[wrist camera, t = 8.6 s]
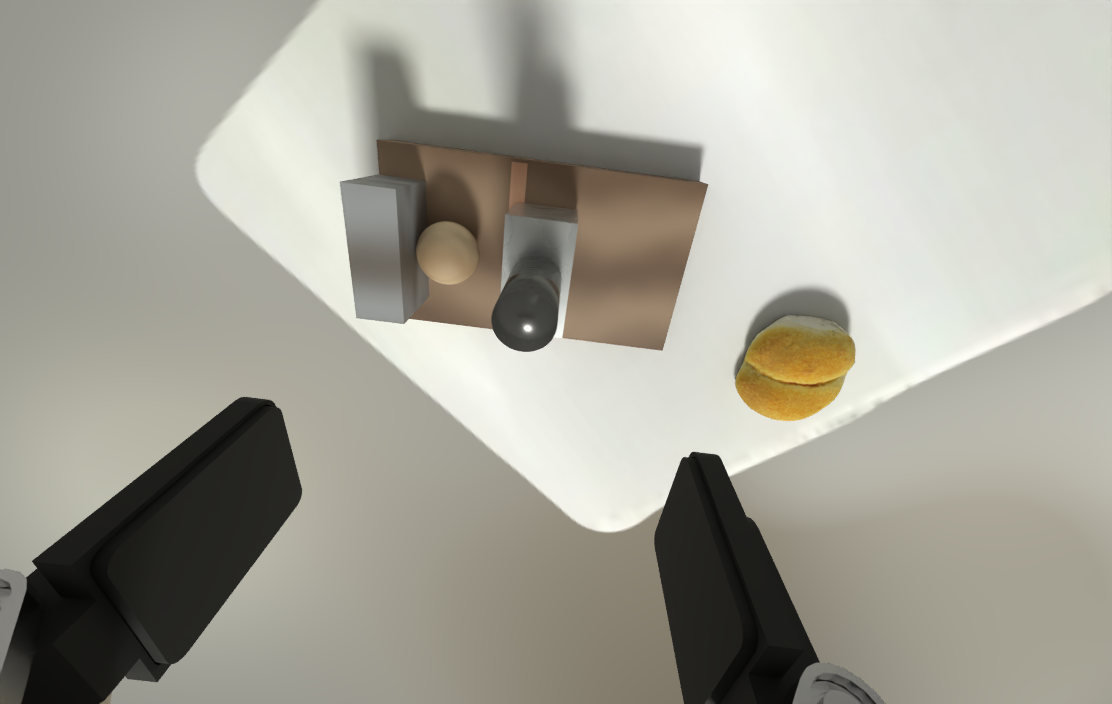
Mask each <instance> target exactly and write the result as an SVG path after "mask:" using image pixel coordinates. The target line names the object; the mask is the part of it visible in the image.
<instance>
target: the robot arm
mask: <svg viewBox="0 0 1112 704" xmlns="http://www.w3.org/2000/svg"><path fill="white" fill-rule="evenodd" d="M301 495H302V488H301V484H300V480H299V476H298V472H297V469H296V465H295V461H294V457H293V453H292V449H291V446H290V442H289V438H288V434H287V430H286V426H285V423H284V419H283V415H282V412H281V410H280V409H279V408H277V407H276V406H275V403H274V402H273V401H270V400H265V399H258V398H250V397H241V398H239V399H237V400H235V401H234V402H233V403H232V404H230V405H229V406H228V407H227V408H225V409H224V410H223V411H222V412H220V413H219V414H218V415H216V416H215V417H214V418H213V419H211V420H210V421H209V422H208V423H206V424H205V425H204V426H203V427H201V428H200V429H199V430H198V431H196V432H195V433H194V434H192V435H191V436H190V437H189V438H187V439H186V440H185V441H183V442H182V443H181V444H180V445H179V446H177V447H176V448H175V449H173V450H172V451H171V452H170V453H168V454H167V455H166V456H164V457H163V458H162V459H161V460H159V461H158V462H157V463H156V464H155V465H153V466H152V467H151V468H149V469H148V470H147V471H145V472H144V473H143V474H142V475H140V476H139V477H138V478H137V479H135V480H134V481H133V482H132V483H130V484H129V485H128V486H127V487H125V488H124V489H123V490H121V491H120V492H119V493H118V494H116V495H115V496H114V497H112V498H111V499H110V500H109V501H107V502H106V503H105V504H104V505H102V506H101V507H100V508H99V509H97V510H96V511H95V512H94V513H92V514H91V515H90V516H88V517H87V518H86V519H85V520H83V521H82V522H81V523H80V524H78V525H77V526H76V527H75V528H74V529H72V530H71V531H69V532H68V533H67V534H66V535H65V536H63V537H62V538H61V539H59V540H58V541H57V542H55V543H54V544H53V545H52V546H51V547H49V548H48V549H47V550H45V551H44V552H43V553H42V554H40V555H39V556H38V557H36V558H35V559H34V560H33V561H32V562H33V563H34V565H35V566H36V567H37V569H36V570H35V571H34V572H32V573H31V574H30V575H29V576H28V577H24V575H23V574H21V572H18V571H14V570H9V569H4V570H0V704H110V702H111V694H112V691H113V690H114V689H115V687H116V686H117V685H118V684H119V682H120V681H121V680H122V679H123V678H124V676H126V678H127V679H133V680H143V681H151V682H158V681H159V679H160V678H161V677H162V676H163V674H164V673H165V672H166V670H167V669H168V668H169V666H170V665H171V664H174V663H176V662H178V661H179V660H180V659H182V658H183V657H184V656H185V655H186V653H187V652H188V651H189V650H190V648H191V647H192V646H193V644H194V643H195V642H196V640H197V639H198V637H199V636H200V635H201V634H202V632H203V631H204V630H205V628H206V627H207V625H208V624H209V623H210V622H211V620H212V619H213V618H214V616H215V615H216V613H217V612H218V611H219V610H220V608H221V607H222V605H223V604H224V603H225V601H226V600H227V599H228V597H229V596H230V594H231V593H232V592H233V591H234V589H235V588H236V587H237V585H238V584H239V583H240V581H241V580H242V579H243V577H244V576H245V575H246V573H247V572H248V571H249V569H250V568H251V567H252V565H253V564H254V563H255V561H256V560H257V559H258V557H259V556H260V555H261V553H262V552H263V551H264V549H265V548H266V547H267V545H268V544H269V543H270V541H271V540H272V539H273V537H274V536H275V535H276V533H277V532H278V531H279V529H280V528H281V526H282V525H283V524H284V522H285V521H286V520H287V518H288V517H289V516H290V514H291V513H292V512H293V510H294V509H295V507H296V506H297V505H298V503H299V501H300V499H301ZM654 540H655V541H654V542H655V543H654V544H655V551H656V556H657V562H658V567H659V572H660V578H661V583H662V588H663V594H664V599H665V604H666V610H667V614H668V620H669V625H670V631H671V636H672V642H673V646H674V652H675V658H676V663H677V668H678V673H679V679H680V684H681V689H682V695H683V700H684V704H885V703H884V701H883V700H882V699H881V698H880V696H879V695H878V694H877V693H876V692H875V691H874V690H873V689H872V688H871V687H870V686H869V685H868V684H866V683H865V682H864V681H863V680H862V679H861V678H860V677H858V676H856V675H855V674H853V673H851V672H850V671H848V670H847V669H845V668H843V667H840V666H837V665H834V664H831V663H820V662H819V660H818V658H817V655H816V653H815V651H814V649H813V646H812V645H811V643H810V640H809V638H808V636H807V633H806V631H805V629H804V627H803V625H802V622H801V620H800V618H799V616H798V614H797V612H796V610H795V607H794V605H793V603H792V601H791V599H790V596H789V594H788V592H787V590H786V588H785V586H784V583H783V581H782V579H781V577H780V574H779V572H778V570H777V568H776V566H775V563H774V562H773V559H772V557H771V555H770V553H769V550H768V548H767V546H766V544H765V542H764V540H763V537H762V535H761V533H760V531H759V529H758V527H757V525H756V524H755V522H754V521H753V520H752V519H751V518H748V517H746V515H745V512H744V510H743V508H742V506H741V503H740V501H739V499H738V497H737V494H736V492H735V490H734V488H733V486H732V483H731V481H730V478H729V476H728V474H727V472H726V469H725V467H724V465H723V463H722V460H721V458H720V457H719V456H718V455H715V454H707V453H699V452H692V453H691V454H690V455H689V457H683V458H682V460H681V462H680V465H679V467H678V470H677V473H676V476H675V478H674V481H673V484H672V487H671V490H670V492H669V495H668V498H667V501H666V503H665V506H664V509H663V512H662V515H661V517H660V520H659V523H658V526H657V529H656V531H655V538H654Z"/></svg>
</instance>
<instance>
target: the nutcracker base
mask: <svg viewBox="0 0 1112 704" xmlns="http://www.w3.org/2000/svg"><path fill="white" fill-rule="evenodd" d="M377 149H378V162H379V174H380V175H374V176H369V177H364V178H358V179H353V180H347V181H342V182H340V187H341V195H342V204H343V212H344V220H345V228H346V236H347V244H348V253H349V261H350V269H351V277H352V285H353V293H354V302H355V310H356V318H360V319H368V320H376V321H384V322H392V323H400V324H405V322H406V321H407V320H408V319H416V320H424V321H432V322H440V323H448V324H456V325H464V326H472V327H480V328H488V329H493V328H492V323H491V317H492V312H493V309H494V307H495V304H496V302H497V300H498V298H499V296H500V294H501V278H502V260H503V243H504V226H505V214H506V213H507V212H508V211H509V210H510V209H511V207H512V206H513V205H514V204H515V203H516V202H520V203H527V204H535V205H542V206H550V207H558V208H565V209H573V210H578V230H577V237H576V244H575V252H574V259H573V266H572V273H571V280H570V287H569V294H568V301H567V308H566V315H565V322H564V329H563V336H562V338H567V339H575V340H583V341H591V342H599V343H607V344H615V345H623V346H631V347H638V348H646V349H654V350H663V347H664V343H665V339H666V336H667V332H668V328H669V325H670V321H671V318H672V314H673V310H674V307H675V303H676V299H677V296H678V292H679V289H680V285H681V281H682V278H683V274H684V270H685V267H686V263H687V260H688V256H689V252H690V249H691V245H692V241H693V238H694V234H695V231H696V227H697V223H698V220H699V216H700V212H701V209H702V205H703V202H704V198H705V194H706V191H707V187H708V184H705V183H703V182H700V181H692V180H685V179H677V178H670V177H662V176H655V175H648V174H640V173H633V172H625V171H618V170H610V169H603V168H596V167H588V166H581V165H573V164H566V163H558V162H551V161H543V160H536V159H529V158H521V157H514V156H506V155H499V154H491V153H484V152H477V151H469V150H462V149H454V148H447V147H439V146H432V145H424V144H417V143H410V142H402V141H395V140H377Z"/></svg>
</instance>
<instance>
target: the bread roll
mask: <svg viewBox="0 0 1112 704" xmlns="http://www.w3.org/2000/svg"><path fill="white" fill-rule="evenodd" d="M854 363H855V344H854V342H853V339H852V338H851V337H850V336H849V334H848V333H847V332H846V331H845V330H844V329H842V328H841V327H840V326H839V325H838V324H836V322H833V321H830V320H826V319H821V318H817V317H812V316H796V315H788V316H784V317H782V318H780V319H778V320H777V321H775V322H774V323H772V324H771V325H770V326H768V327H767V328H765V329H764V330H762V331H761V332H760V333H758V334H757V335H756V337H755V338H754V339H753V341H752V343H751V345H750V346H749V348H748V350H747V353H746V356H745V359H744V361H743V364H742V366H741V368H740V370H739V372H738V374H737V377H736V381H735V386H736V389H737V391H738V393H739V395H740V397H741V398H742V399H743V401H744V402H745V403H746V404H747V405H748V406H749V407H750V408H751V409H752V410H754V411H756V412H757V413H759V414H761V415H763V416H766V417H768V418H771V419H775V420H782V421H795V420H800V419H804V418H807V417H809V416H811V415H813V414H815V413H817V412H819V411H820V410H821V409H823V408H824V407H826V406H827V405H829V404H830V403H831V402H832V401H833V400H834V399H835V398H836V397H837V395H838V394H839V392H840V390H841V388H842V385H843V383H844V379H845V376H846V374H847V371H848V370H849V369H850V368H851V367H852V366H853V364H854Z"/></svg>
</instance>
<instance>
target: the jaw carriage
mask: <svg viewBox="0 0 1112 704" xmlns="http://www.w3.org/2000/svg"><path fill="white" fill-rule="evenodd" d="M577 230H578V210H573V209H565V208H558V207H550V206H542V205H535V204H527V203H520V202H516V203H515V204H514V205H513V206H512V207H511V209H510V210H509V211H508V212H507V213H506V214H505V226H504V243H503V260H502V278H501V294H500V296H499V298H498V300H497V302H496V304H495V307H494V309H493V312H492V317H491V323H492V328H493V331H494V333H495V335H496V336H497V338H498V339H499V340H500V341H501V342H502V343H503V344H505V345H506V346H508V347H509V348H511V349H514V350H517V351H523V352H530V351H535V350H538V349H541V348H543V347H544V346H546V345H547V344H548V343H549V342H550V341H551V340H552V339H553V338H560V339H562V336H563V329H564V322H565V315H566V308H567V301H568V294H569V287H570V280H571V273H572V266H573V259H574V252H575V244H576V237H577Z"/></svg>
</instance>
